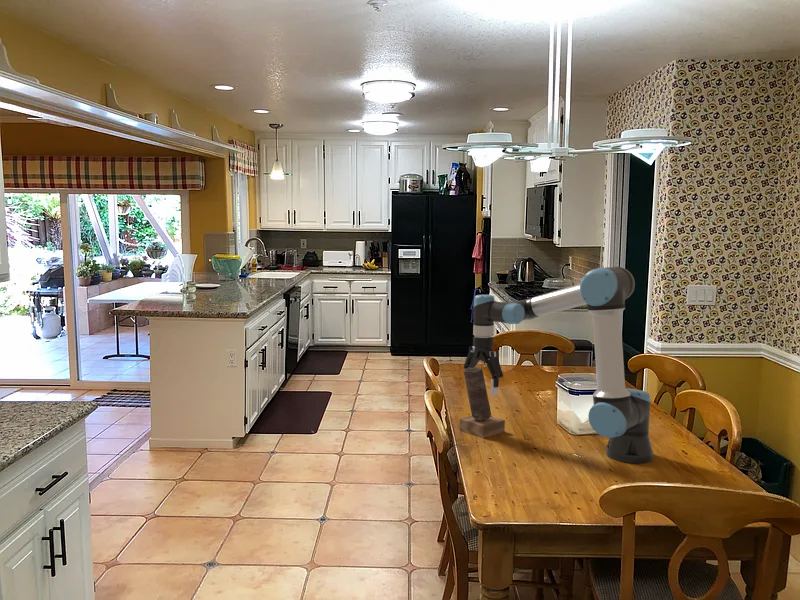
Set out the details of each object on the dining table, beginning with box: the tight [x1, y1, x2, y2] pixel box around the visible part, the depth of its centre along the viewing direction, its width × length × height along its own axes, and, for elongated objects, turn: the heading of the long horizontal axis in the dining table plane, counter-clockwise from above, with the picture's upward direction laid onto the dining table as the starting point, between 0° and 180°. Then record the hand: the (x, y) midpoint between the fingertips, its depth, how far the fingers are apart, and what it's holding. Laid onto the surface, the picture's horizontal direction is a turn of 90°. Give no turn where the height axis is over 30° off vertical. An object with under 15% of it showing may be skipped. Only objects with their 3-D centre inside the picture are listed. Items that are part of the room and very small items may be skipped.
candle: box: [463, 365, 492, 421], centre depth 245 cm, size 8×7×20 cm
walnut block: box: [459, 415, 506, 439], centre depth 247 cm, size 12×12×5 cm
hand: (482, 391), depth 245 cm, fingers open, 13 cm apart
